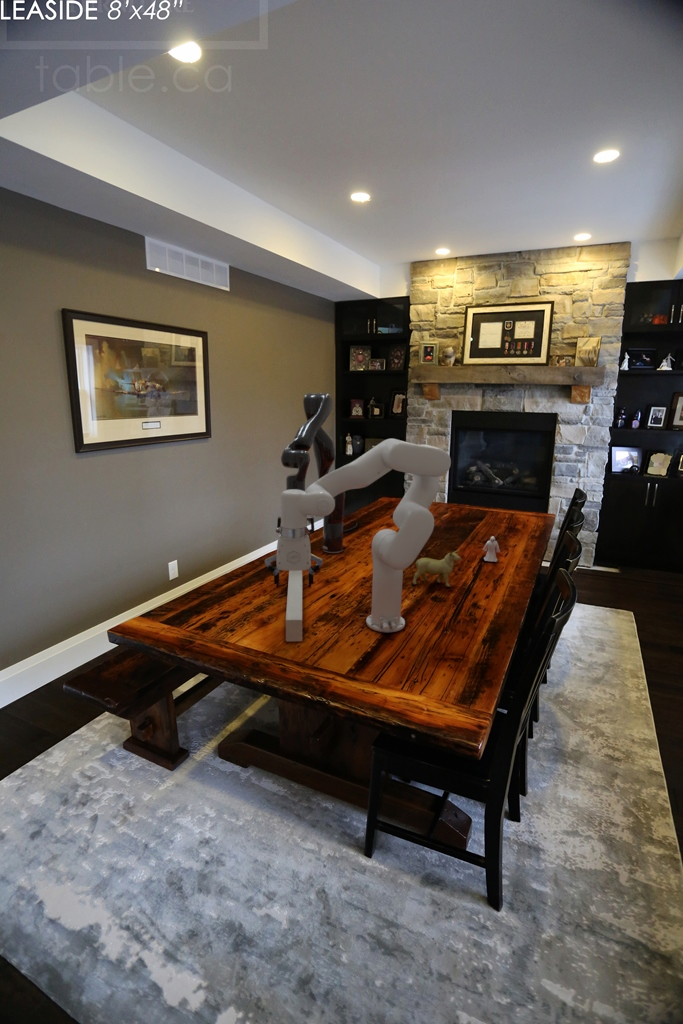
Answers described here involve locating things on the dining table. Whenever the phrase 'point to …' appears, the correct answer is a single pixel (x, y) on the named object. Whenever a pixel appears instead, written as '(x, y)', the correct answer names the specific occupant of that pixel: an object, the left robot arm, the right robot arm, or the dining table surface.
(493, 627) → the dining table surface
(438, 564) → the toy
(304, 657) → the dining table surface
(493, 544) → the figurine
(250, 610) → the dining table surface
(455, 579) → the dining table surface
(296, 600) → the bar
